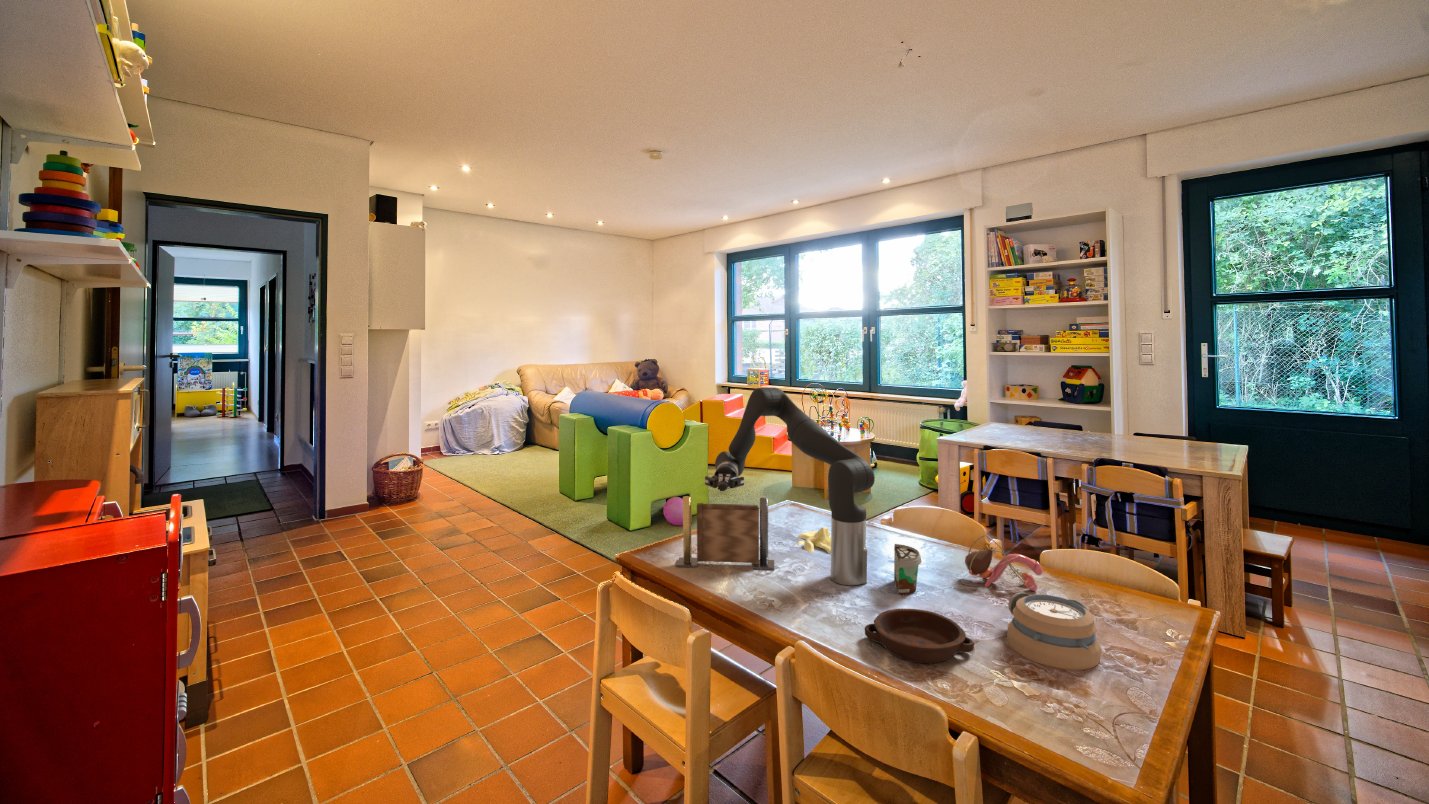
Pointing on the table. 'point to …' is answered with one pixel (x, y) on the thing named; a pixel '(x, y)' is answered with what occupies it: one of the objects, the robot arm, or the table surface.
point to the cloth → (816, 540)
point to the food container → (906, 569)
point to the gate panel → (727, 533)
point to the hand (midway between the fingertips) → (722, 487)
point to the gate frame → (687, 543)
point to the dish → (918, 635)
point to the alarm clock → (1053, 631)
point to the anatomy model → (1000, 566)
